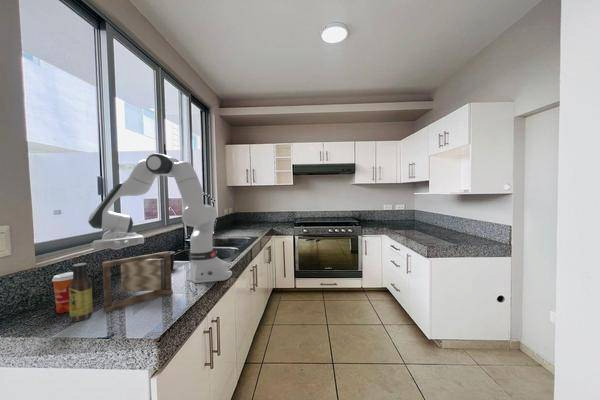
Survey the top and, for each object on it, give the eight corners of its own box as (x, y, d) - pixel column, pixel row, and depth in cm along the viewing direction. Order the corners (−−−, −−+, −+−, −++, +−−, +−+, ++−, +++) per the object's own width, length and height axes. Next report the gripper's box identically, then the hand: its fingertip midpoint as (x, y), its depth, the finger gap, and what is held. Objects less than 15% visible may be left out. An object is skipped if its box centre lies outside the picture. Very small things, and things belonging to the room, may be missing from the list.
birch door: (165, 289, 112) (164, 258, 112) (162, 291, 109) (161, 260, 108) (123, 290, 111) (122, 259, 111) (118, 293, 108) (117, 261, 108)
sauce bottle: (68, 318, 89) (66, 264, 89) (90, 312, 94) (89, 260, 93) (71, 324, 85) (69, 267, 85) (94, 317, 90) (92, 263, 89)
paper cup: (48, 312, 94) (46, 276, 94) (72, 304, 101) (71, 270, 101) (60, 316, 91) (59, 278, 91) (84, 307, 99) (83, 272, 98)
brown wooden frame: (168, 289, 115) (166, 250, 115) (172, 293, 111) (171, 252, 111) (103, 307, 98) (101, 261, 97) (106, 312, 94) (104, 264, 93)
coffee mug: (178, 268, 150) (178, 251, 150) (167, 272, 142) (167, 255, 142) (162, 267, 153) (162, 251, 153) (151, 271, 145) (150, 254, 145)
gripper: (89, 237, 117) (94, 240, 107) (139, 232, 132) (147, 234, 122) (90, 250, 117) (94, 254, 107) (139, 243, 132) (147, 247, 122)
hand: (123, 244), depth 115 cm, fingers closed
